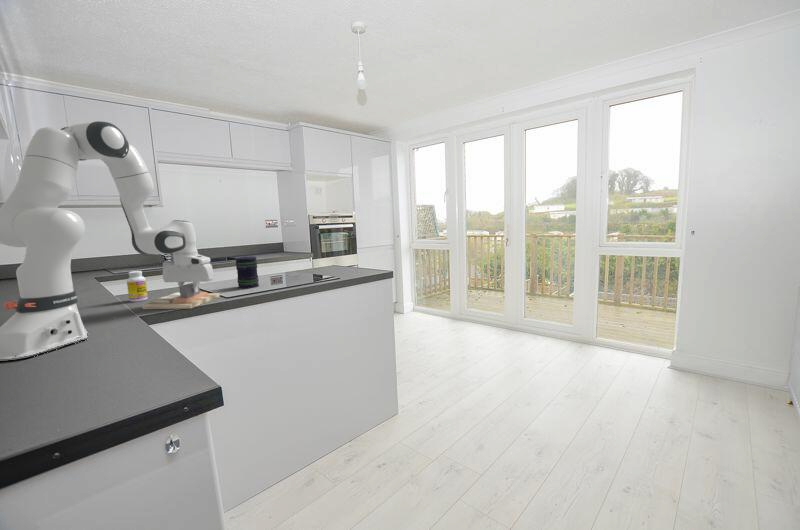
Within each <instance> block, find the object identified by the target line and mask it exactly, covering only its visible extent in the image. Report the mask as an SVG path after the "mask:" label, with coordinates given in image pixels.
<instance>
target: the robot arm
mask: <svg viewBox="0 0 800 530" xmlns="http://www.w3.org/2000/svg"><path fill="white" fill-rule="evenodd" d="M88 160H89V161H90V160H101V161H102V162H103V163H104V164H105V165H106V166H107V167H108V170H109V173H110V175H111V177H112V179H113V181H114V184H115V186H116V189H117V191H118V195H119V200H120V205H121V208H122V210H123V212H124V215H125V218H126V222H127V223H128V226H129V229H130V234H131V245H132V247H133V248H134V250H135V251H136V252H137V253H138V254H141V255H142V256H143V255H144V256H151V255H168V254H172V257H173V259H170V260H169V259H166V260H165V261H163V262H162V280H163V282H164V283H177V285H178V287H179V286H182V285H186V284H185V283H194V284H195V286H194V288H192V292H198V286H199V287H200V284H201V283H202V282H204V283H205V282H206V283H208V282H212V281H213V280H214V277H215V275H214V269H213V265H212V263H211V258H210V257H208V256H205V255H202V254H199V252H198V249H197V235H196V234H197V233H196V230H195V227H194V224H193V223H192V222H190V221H187V220H178V219H175V220H174V219H173V220H172V221H171V222H169V223H168V224H167V225H166V226H164V227H161V228H159V229H153V228H152V227H151V226H150V223H149V220H148V218H147V215H146V212H145V210H144V203H145V202H146V200H147V199H148V198H149V197H151V195H152V194H153V193H154V190H155V185H154V180H153V178H152V175H151V173H150V170H149V169H148V166H147V164H146V163H145V161H144V159H143V157H142V155H141V154H140V152H139V151H138V149H137V148H136V147H135V146H134V145H132V144H130V143H129V142H128V139H127V138H126V135H125V134H124V133H123V131H122V130H121V129H120V128H119V127H118V126H117V125H115V124H113V123H111V122H108V121H100V120H99V121H98V120H97V121H93V122H82V123H76V124H73V125H70V126H65V127H61V128H60V129H59V128H57V127H49V126H48V127H42V128H38V130H36V131H35V132H34V134H33V136H32V137H31V139H30V141H29V143H28V146H27V148H26V151H25V153H24V157H23V162H22V166H21V168H20V172H19V176H18V178H17V179H18V180H17V182H16V184H15V186H14V188H13V190H12V192H11V193H10V194H9V196H8V197H7V198H6V201H4V202H3V204H2V206H1V207H0V245H5V246H8V247H13V248H26V249H25V255H24V258H23V261H22V263H21V264H20V265H19V266H18V267H17V268H16V271H15V274H16V280H17V284H18V285H17V286H18V292H19V296H20V297H19V298H18V300H17V302H16V301H6V302H4V304H3V306H2V307H3V308H4V309H5V310H15V313H14V314H13V315H12V316H10V318H8V320H6V321H5V322H4V323H3V324H2V325H1V326H0V359H12V358H19V357H24V356H29V355H33V354H36V353H39V352H43V351H46V350H48V349H51V348H55V347H57V346H61V345H64V344H67V343H70V342H74V341H77V340H80V339H84V338H87V337H88V336H87V333H88V334H89V332H88V331H87V329H86V328H85V325H84V322H83V320H82V317H81V314H80V312H79V309H78V305H77V304H78V296H77V292H76V290H74V284H73V278H72V277H73V276H72V269H71V263H72V257H73V254H74V249H75V247H76V245H78V243H79V241H81V240H82V239H83V238H84V236H85V233H86V225H85V222H84V220H83V218H82V217H81V216H80V215H79V214H77V213H76V212H74V211H71V210H67V209H63V208H59V206H60V205H61V204H62V203H64V202H65V201H66V200H67V199H69V198H70V197H71V195H72V193H73V188H74V183H75V180H76V174H77V170H78V164H79V163H78V162H79V161H88ZM15 356H16V357H15Z"/></svg>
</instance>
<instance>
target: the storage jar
mask: <svg viewBox="0 0 800 530" xmlns="http://www.w3.org/2000/svg"><path fill="white" fill-rule="evenodd" d="M235 266H236V274H237V278H236V279H237V285H238V287H237V288H238V289H239V288H241V290H246V289H247V290H248V289H249V290H250V289H255V288H258V287H259V286H260V285H259V275H258V260H257V256H241V257H236V258H235Z"/></svg>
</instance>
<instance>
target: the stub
mask: <svg viewBox="0 0 800 530" xmlns="http://www.w3.org/2000/svg"><path fill="white" fill-rule="evenodd" d="M194 286H195V284H194V283H193V282H188V283H186V284H184V285H182V286H179V285H178V287H179V292H180V296H181V297H180V298H177V299H174V300H172V303H188V302H190V301H193V300H196V299H198V298H201V297H203V296H206V295H208V292H207V291H202V292H201V291H200V290H201V289H200V285H199V286H198V292H192V288H194Z"/></svg>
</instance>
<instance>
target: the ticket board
mask: <svg viewBox="0 0 800 530" xmlns="http://www.w3.org/2000/svg"><path fill="white" fill-rule="evenodd" d="M207 293H208V292H207ZM180 297H181V296H180V291H179V292H178V291H177V292H173V293H171V294H168V295H165V296H162V297H158V298H156V299H152V300H150V301H149V303H145V304H143V305H141V308H142V310H163V309H164V310H171V309H172V310H173V309H174V310H175V309H177V310H179V309H193V308H195V307H198V306H200V305H202V304H206V303H208V302H210V301H212V300H215V299H217V298H220V292H219V293H218V292H217V293H215V292H214V293H213V292H212V293H208V295H206V296H203V297H201V298H198V299H196V300H193V301H190V302H188V303H172V300H174V299H177V298H180Z"/></svg>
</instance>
